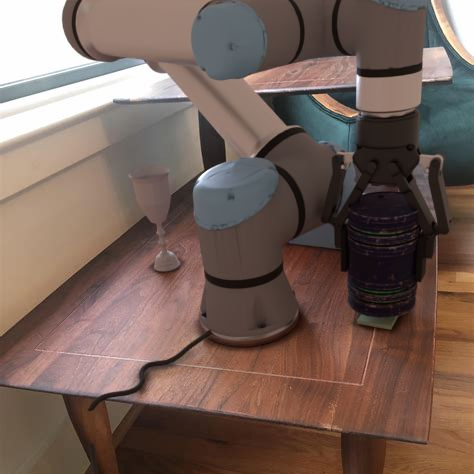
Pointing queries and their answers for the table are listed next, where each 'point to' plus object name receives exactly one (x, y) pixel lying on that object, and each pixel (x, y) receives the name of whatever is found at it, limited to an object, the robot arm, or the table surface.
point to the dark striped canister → (382, 255)
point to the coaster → (377, 321)
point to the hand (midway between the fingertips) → (382, 272)
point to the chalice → (155, 207)
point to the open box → (318, 237)
